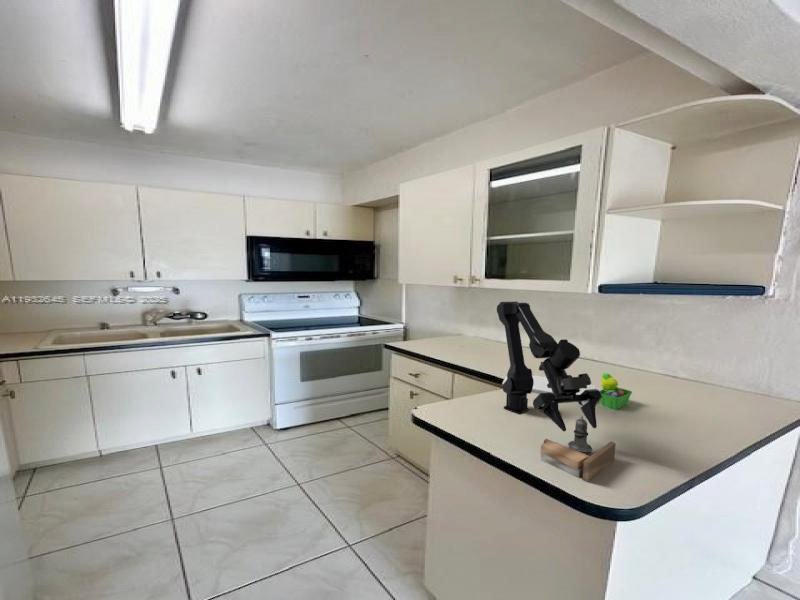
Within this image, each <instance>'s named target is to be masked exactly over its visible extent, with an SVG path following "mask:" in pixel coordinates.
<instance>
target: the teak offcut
mask: <svg viewBox="0 0 800 600" xmlns="http://www.w3.org/2000/svg"><path fill="white" fill-rule="evenodd" d="M551 441H552V440H551ZM551 441H548V442H546V443H544V442H543V444H541V445H540V454H541V453H543V454H545V455H547V456H549V457H551V458H554V459H556V460H558V461H560V462H562V463H564V464H566V465H568V466H571V467H573V468H575V469H577V470H578V469H580V468H582V467H583V464H584V461H585V460H586V459H587V457H586V456H584V455H581V454H579V453H577V452H575V451H572V450H570V449H568V448H565V447H563V446H564V445H563V446H561V445H562V444H561V445H558V444H559V443H558V444H556V443H557V442H556V443H554V442H555V441H553V442H551Z"/></svg>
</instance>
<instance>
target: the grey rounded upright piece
mask: <svg viewBox="0 0 800 600" xmlns="http://www.w3.org/2000/svg"><path fill="white" fill-rule="evenodd" d="M573 433H574V439H573V440H572V441H569V442H567V445H568V446H567V447H569V448H571V449H574V450H576V451H579V452H581V453H584V454H586V455H589V456H591V452H592V451H593V447H592V446H591V445H590V444H588V440H587V439H588V436H589V433H588V422H587V420H586V419H584V416H580V418H578V419H576V421H575V428H574V430H573Z"/></svg>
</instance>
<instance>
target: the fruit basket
mask: <svg viewBox="0 0 800 600" xmlns="http://www.w3.org/2000/svg"><path fill="white" fill-rule="evenodd" d="M600 379H601V383H600V384H601V385H600V386H601V388H602V389H600V390H599V391H600V393H601V395H602V397H603V398H601V399H600V401H599V402H600V404H601V406H603V407H606V408H609V409H613V410H615V411H616V410H617V409H620V408H621V407H624V406H625V405H628V402H629V400H630V397H631V395H632V394H633V391H631V390H628V389H626V388H622V387H618V385H619V382H618V380H616V379H615V377H613V376H612V375H611V374H610V373H609V372H608V373H607V372H603V374H602V375H601V378H600Z"/></svg>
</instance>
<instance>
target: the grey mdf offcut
mask: <svg viewBox="0 0 800 600" xmlns="http://www.w3.org/2000/svg"><path fill="white" fill-rule="evenodd" d="M541 460H542V462H543V461H544V462H543V463H545V462H546V464H548V463H549V464H548V465H550V464H551V465H550V466H552V465H553V467H554V466H555V468H556V467H557V469H559V470H561V469H562V470H561V471H563V470H564V471H563V472H565V471H566V472H565V473H568V474H570V475H572V476H574V475H575V476H574V477H576V476H577V477H576V478H581V477H582V476H583V467H582V468H580V469H578V470H577V469H575V468H573V467H571V466H568V465H566V464H564V463H562V462H560V461H558V460H556V459H554V458H551V457H549V456H547V455H545V454H543V453H541V452H540V461H541ZM581 475H582V476H581ZM580 476H581V477H580Z"/></svg>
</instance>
